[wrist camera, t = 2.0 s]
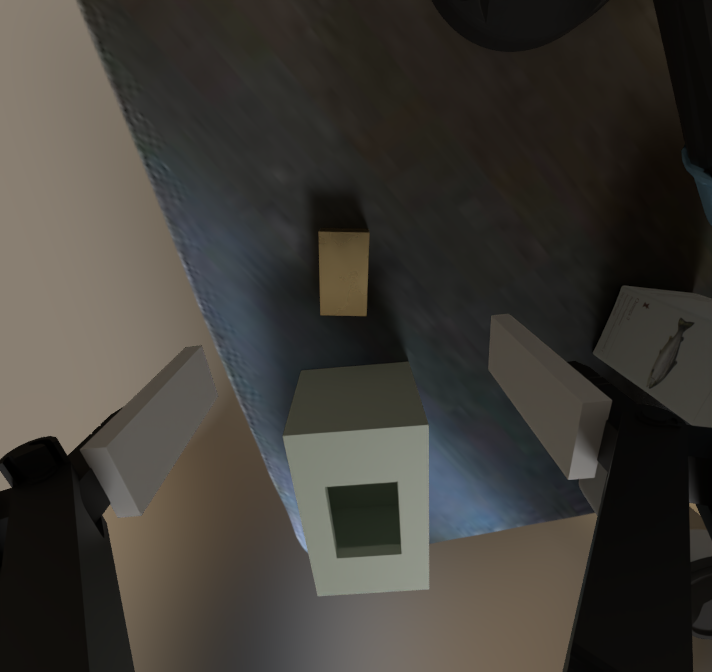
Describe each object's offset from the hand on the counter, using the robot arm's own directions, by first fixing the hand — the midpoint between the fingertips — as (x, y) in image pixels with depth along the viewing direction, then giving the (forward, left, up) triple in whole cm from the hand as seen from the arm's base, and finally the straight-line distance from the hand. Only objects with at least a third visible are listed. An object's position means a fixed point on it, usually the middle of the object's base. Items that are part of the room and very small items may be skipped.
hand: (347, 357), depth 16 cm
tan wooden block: (0, -1, -17) cm, 17 cm away
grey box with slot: (+20, -1, -17) cm, 26 cm away
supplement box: (+8, +27, -17) cm, 33 cm away
